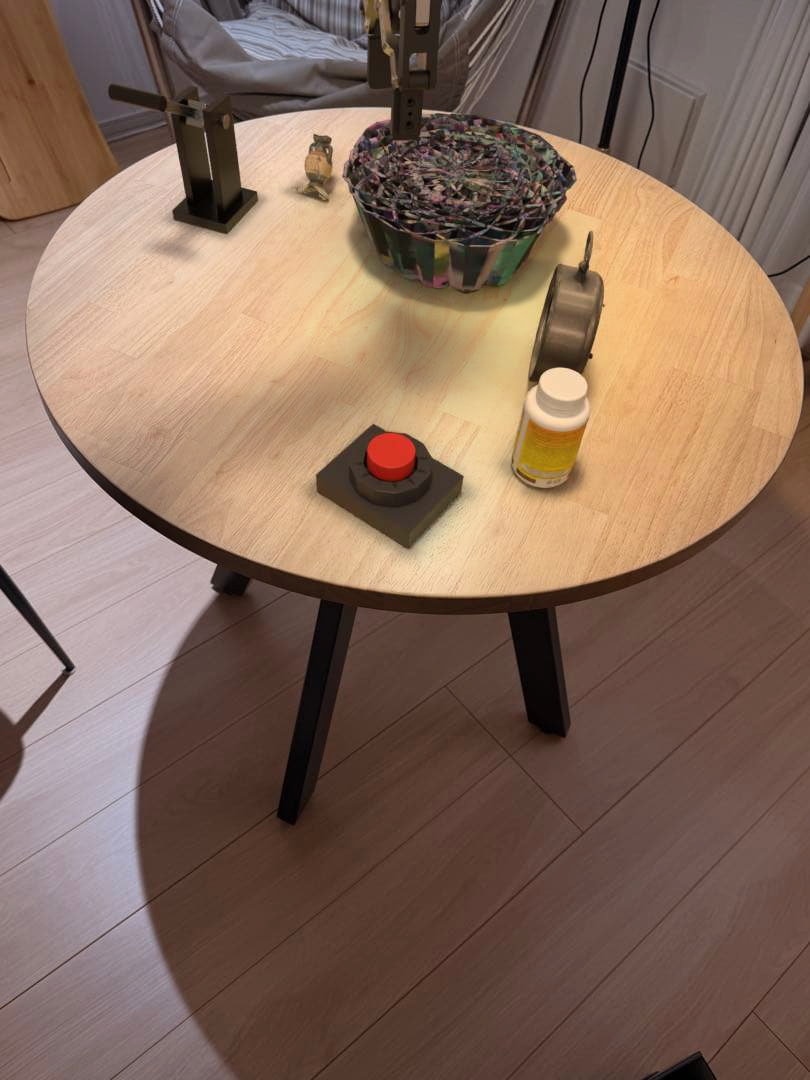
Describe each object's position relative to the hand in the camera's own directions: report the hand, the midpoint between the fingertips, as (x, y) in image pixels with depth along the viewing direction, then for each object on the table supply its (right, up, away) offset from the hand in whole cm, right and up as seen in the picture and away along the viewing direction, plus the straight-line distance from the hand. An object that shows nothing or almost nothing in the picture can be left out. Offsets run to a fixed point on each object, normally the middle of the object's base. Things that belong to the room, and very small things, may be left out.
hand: (392, 111), depth 62 cm
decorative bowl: (+7, +2, +31) cm, 32 cm away
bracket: (-22, +6, +32) cm, 39 cm away
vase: (-10, +10, +36) cm, 39 cm away
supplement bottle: (+13, -27, +10) cm, 32 cm away
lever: (-23, +9, +19) cm, 31 cm away
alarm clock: (+16, -18, +17) cm, 30 cm away
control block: (0, -30, +7) cm, 31 cm away
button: (0, -27, +4) cm, 28 cm away
